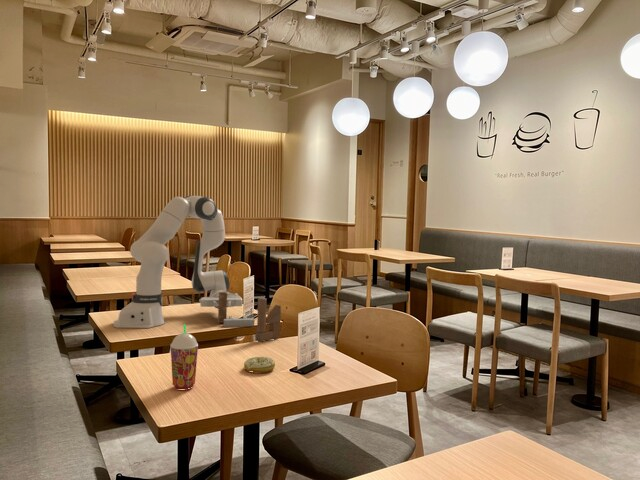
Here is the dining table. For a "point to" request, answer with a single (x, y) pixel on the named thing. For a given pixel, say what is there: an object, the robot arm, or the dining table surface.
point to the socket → (238, 322)
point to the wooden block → (267, 322)
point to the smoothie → (184, 360)
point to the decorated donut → (259, 364)
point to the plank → (222, 306)
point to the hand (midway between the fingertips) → (222, 304)
